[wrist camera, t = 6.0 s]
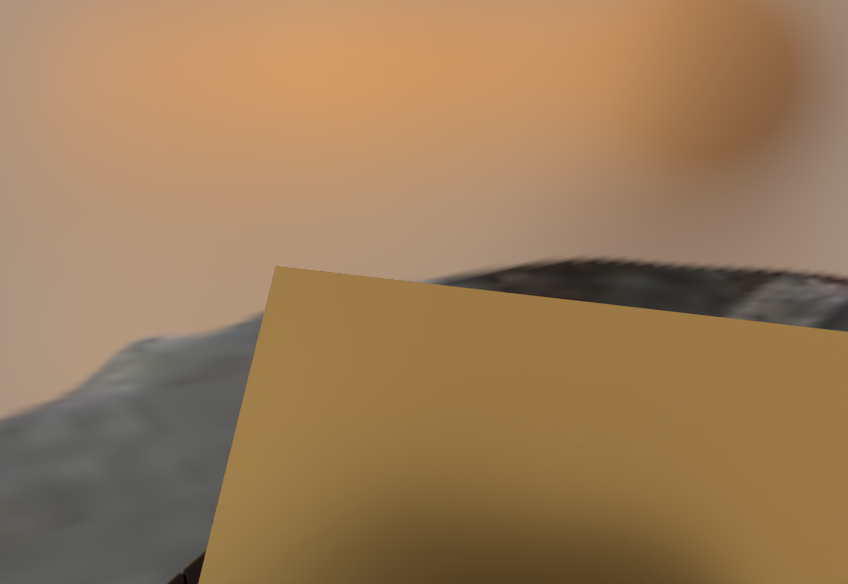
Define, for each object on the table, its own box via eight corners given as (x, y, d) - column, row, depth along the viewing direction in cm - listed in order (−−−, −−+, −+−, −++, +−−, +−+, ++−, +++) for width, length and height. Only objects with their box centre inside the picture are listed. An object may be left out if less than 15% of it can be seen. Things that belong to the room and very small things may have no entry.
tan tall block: (550, 638, 14) (1608, 1603, 2) (368, 613, 14) (19, 1313, 2) (555, 488, 15) (1144, 366, 3) (388, 467, 15) (275, 265, 3)
